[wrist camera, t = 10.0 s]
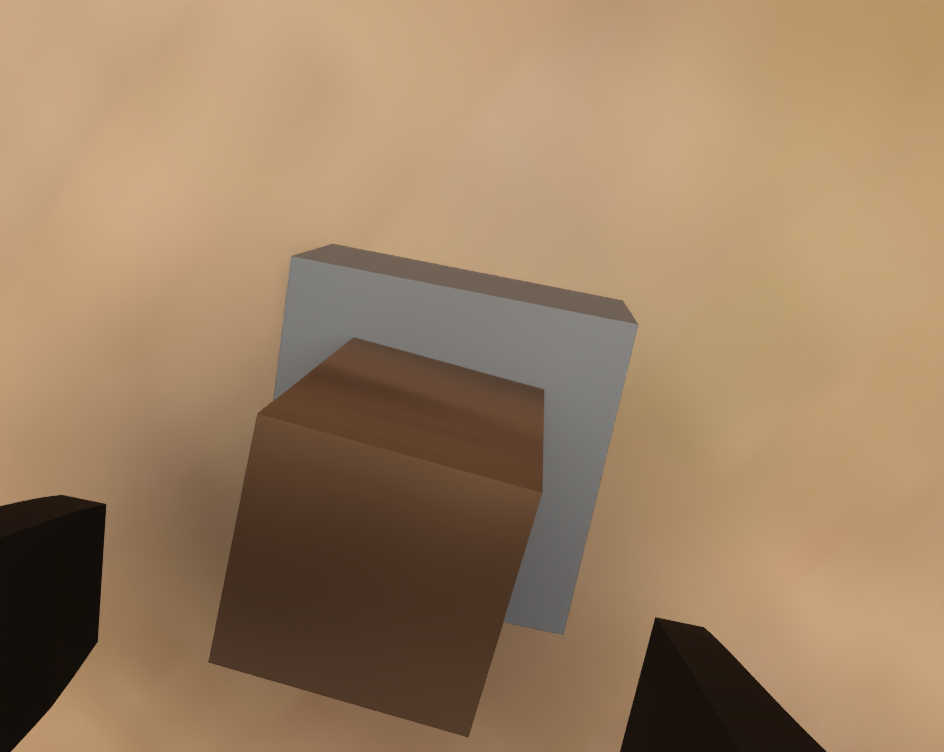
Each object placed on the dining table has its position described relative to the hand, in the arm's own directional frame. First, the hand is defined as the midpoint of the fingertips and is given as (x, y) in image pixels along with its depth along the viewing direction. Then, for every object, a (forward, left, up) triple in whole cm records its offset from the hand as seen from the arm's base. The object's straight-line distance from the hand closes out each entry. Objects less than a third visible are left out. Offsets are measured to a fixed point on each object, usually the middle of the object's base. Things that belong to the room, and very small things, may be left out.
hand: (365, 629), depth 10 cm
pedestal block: (0, 0, -10) cm, 10 cm away
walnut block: (0, 0, -7) cm, 7 cm away
